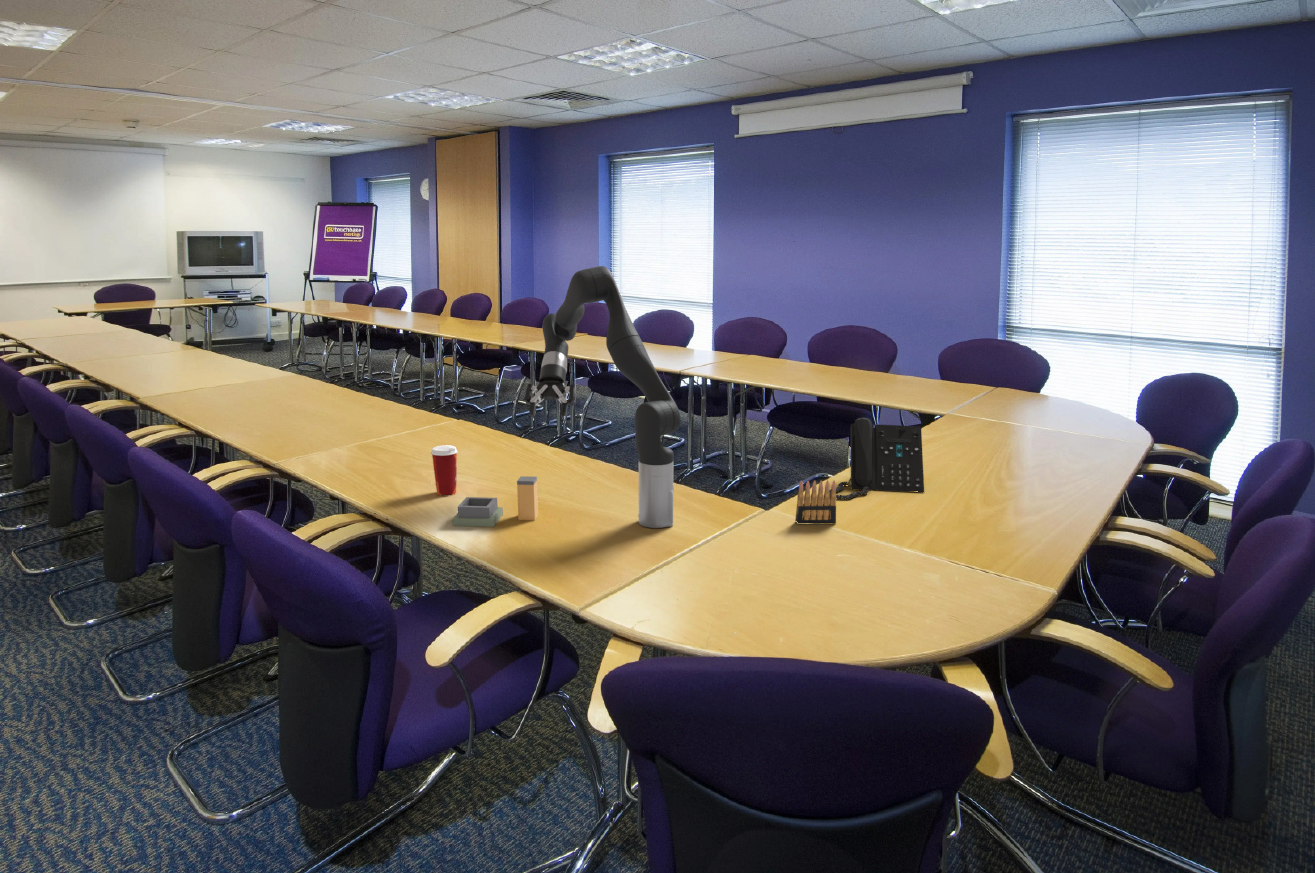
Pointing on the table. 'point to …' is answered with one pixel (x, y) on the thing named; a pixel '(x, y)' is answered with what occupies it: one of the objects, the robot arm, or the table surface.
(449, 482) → the paper cup
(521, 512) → the grey-capped square pillar
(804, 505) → the ammunition clip
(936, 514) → the table surface
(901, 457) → the office phone
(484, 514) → the grey square tray
